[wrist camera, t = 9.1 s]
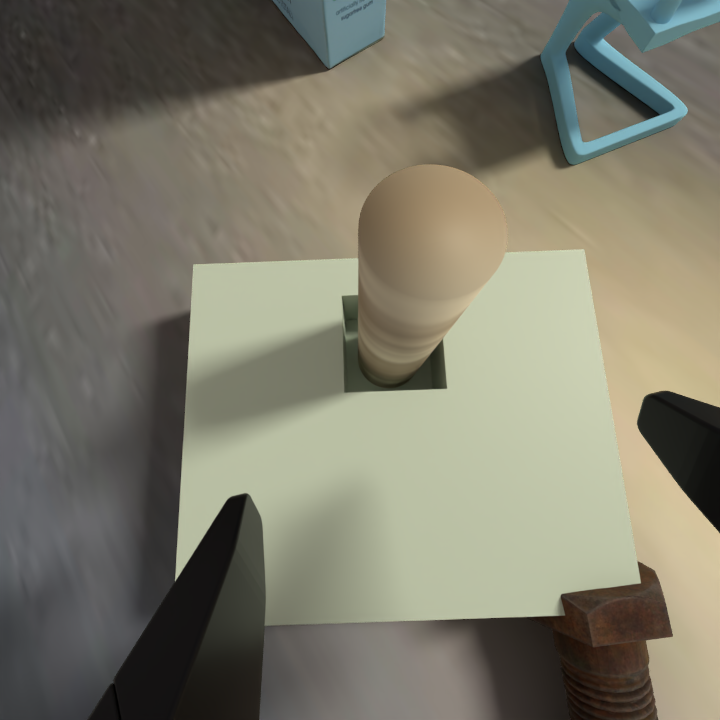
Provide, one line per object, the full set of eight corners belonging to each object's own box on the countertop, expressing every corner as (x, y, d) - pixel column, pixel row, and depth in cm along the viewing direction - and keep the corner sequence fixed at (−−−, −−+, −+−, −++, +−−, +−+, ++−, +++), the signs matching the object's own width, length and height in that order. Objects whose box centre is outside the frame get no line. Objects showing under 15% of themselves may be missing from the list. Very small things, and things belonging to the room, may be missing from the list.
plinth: (581, 574, 19) (646, 612, 15) (216, 587, 19) (172, 628, 15) (541, 287, 22) (584, 249, 18) (227, 299, 22) (193, 264, 18)
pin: (420, 387, 20) (516, 297, 8) (359, 389, 20) (361, 302, 8) (416, 327, 21) (498, 162, 9) (356, 330, 21) (355, 166, 9)
